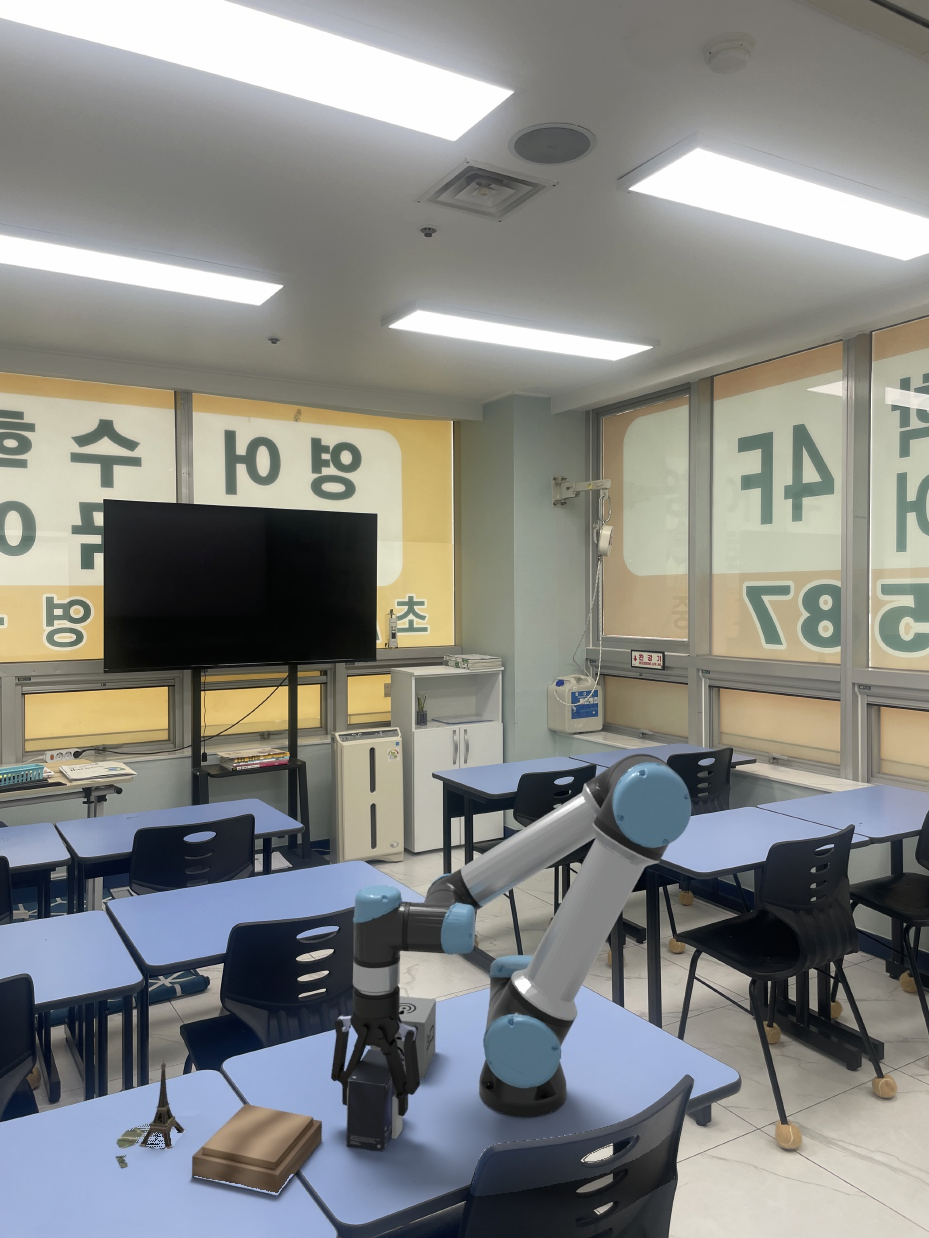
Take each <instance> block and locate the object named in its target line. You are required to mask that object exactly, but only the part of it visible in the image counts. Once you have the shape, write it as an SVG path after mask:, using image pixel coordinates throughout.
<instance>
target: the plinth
mask: <svg viewBox="0 0 929 1238" xmlns="http://www.w3.org/2000/svg"><path fill="white" fill-rule="evenodd" d="M322 1133H323V1122H322V1120H318V1119H314V1116H309V1115H306V1114H304V1115H303V1114H299V1113H293V1112H288V1111H283V1110H278V1109H274V1108H273V1109H272V1108H267V1107H263V1106H257V1105H252V1104H248V1103H245V1104H244V1105H242V1106H241V1108H240V1109H239V1110H237V1111H236V1113H234V1114H233V1116H232V1117H230V1118H229V1120H227V1121H226V1122H225V1123H224V1124H223V1125H222V1126H221V1127H220V1128H219V1130H217V1132H215V1133H214V1134H213V1135H212V1136H211V1137H210V1138H209V1139H208V1140H207V1141H206V1142H205V1143H204V1144H203V1145H202V1146H201V1147H200V1148H199V1149H198V1150H197V1151H196V1152H195V1153H193V1154H192V1156H191V1157H192V1158H191V1177H192V1176H198V1177H202V1178H206V1179H212V1180H218V1181H225V1182H229V1183H235V1184H241V1185H244V1186H247V1187H251V1188H256V1189H257V1188H258V1189H260V1190H266V1191H268V1192H269V1191H270V1192H275V1193H278V1192H279V1190H280V1189H281V1188H282V1186H283V1185H284V1184H285V1182H286V1181H287V1179H288V1178H289V1176H290V1175H291V1174H294V1176H295V1174H297V1172H298V1171H299V1170H300V1168H301V1167H302V1166H303V1164H304V1163H305V1162H306V1161H307V1160H308V1158H309V1157H310V1156H311V1154H313V1152H314V1151H315V1149H316V1148H317V1147H318V1146H319V1144H320V1143H321V1142H322V1141H323V1140H322V1139H323V1135H322Z"/></svg>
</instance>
